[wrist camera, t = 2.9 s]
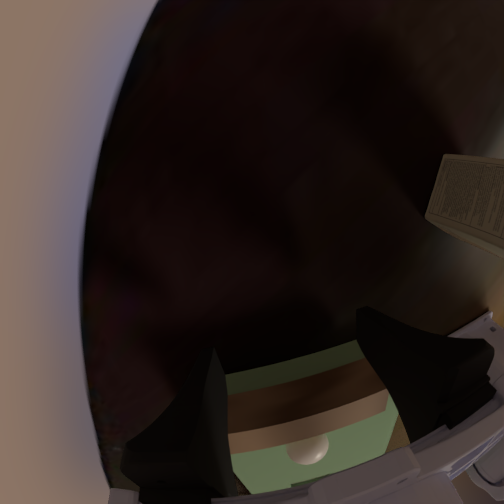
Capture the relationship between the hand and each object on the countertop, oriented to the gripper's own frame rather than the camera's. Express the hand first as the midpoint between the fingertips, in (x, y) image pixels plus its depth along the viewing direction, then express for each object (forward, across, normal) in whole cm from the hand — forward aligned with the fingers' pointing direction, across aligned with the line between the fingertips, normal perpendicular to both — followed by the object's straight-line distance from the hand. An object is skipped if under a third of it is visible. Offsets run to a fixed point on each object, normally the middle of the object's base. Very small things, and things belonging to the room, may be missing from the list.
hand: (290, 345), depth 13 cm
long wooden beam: (+1, 0, +5) cm, 5 cm away
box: (+4, -14, -4) cm, 15 cm away
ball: (0, 0, +11) cm, 11 cm away
